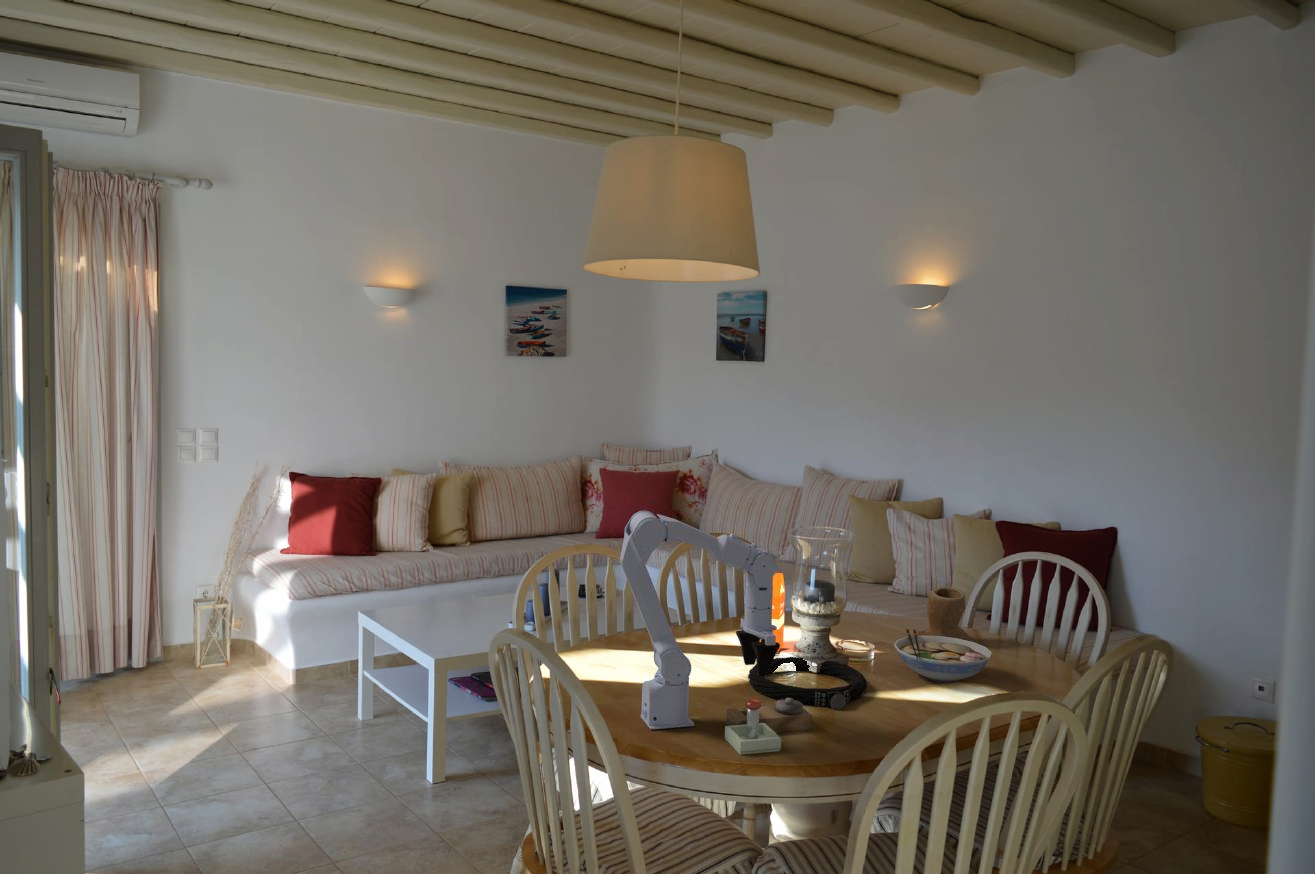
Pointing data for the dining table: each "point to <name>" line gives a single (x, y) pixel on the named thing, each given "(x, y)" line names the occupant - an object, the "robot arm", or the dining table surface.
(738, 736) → the tray
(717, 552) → the robot arm
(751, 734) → the lock pin
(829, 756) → the dining table surface
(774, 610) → the orange juice
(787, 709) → the block
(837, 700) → the cable lock
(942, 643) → the ramen bowl
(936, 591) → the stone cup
